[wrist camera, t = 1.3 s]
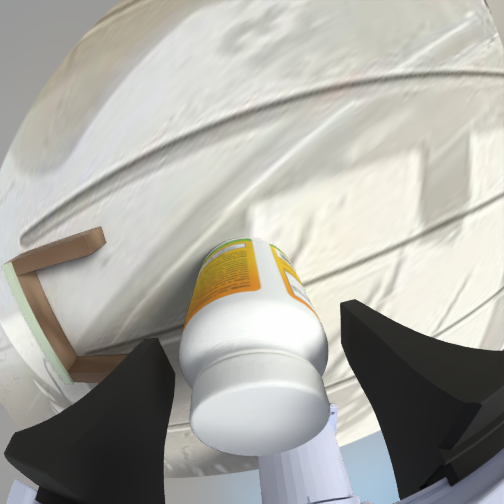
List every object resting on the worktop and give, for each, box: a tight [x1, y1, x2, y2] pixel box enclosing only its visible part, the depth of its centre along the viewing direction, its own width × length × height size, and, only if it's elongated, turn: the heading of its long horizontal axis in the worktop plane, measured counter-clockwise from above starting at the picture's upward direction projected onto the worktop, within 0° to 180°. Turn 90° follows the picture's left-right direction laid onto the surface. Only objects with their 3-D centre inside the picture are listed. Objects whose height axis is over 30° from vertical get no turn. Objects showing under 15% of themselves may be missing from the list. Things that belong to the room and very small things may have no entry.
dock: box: [2, 227, 129, 385], centre depth 14 cm, size 10×8×2 cm
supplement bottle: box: [179, 237, 330, 456], centre depth 11 cm, size 5×5×10 cm
